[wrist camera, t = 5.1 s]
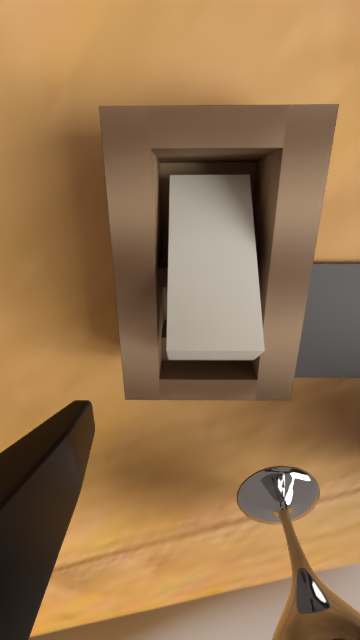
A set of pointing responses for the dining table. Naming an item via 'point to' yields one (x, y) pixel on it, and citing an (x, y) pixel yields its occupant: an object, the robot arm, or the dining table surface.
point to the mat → (331, 323)
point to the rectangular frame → (269, 225)
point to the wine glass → (298, 556)
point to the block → (212, 270)
